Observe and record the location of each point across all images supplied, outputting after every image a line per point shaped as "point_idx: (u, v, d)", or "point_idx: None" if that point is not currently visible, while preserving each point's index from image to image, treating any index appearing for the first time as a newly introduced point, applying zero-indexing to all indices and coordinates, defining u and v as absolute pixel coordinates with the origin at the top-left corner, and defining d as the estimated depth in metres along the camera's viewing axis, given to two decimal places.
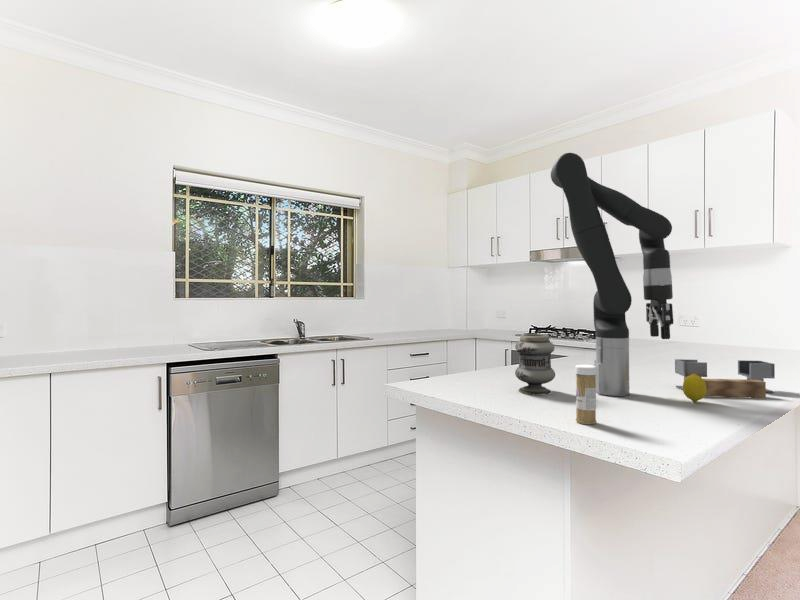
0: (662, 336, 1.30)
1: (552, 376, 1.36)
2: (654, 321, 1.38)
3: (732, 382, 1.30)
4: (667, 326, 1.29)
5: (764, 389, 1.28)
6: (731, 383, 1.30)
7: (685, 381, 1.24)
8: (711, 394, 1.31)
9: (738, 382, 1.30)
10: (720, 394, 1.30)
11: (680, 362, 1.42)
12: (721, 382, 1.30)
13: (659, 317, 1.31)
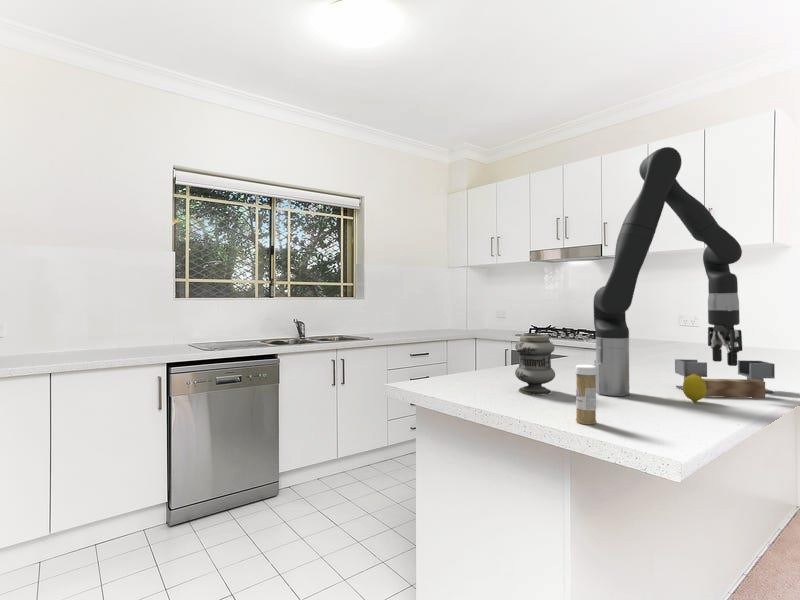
0: (729, 362, 1.28)
1: (552, 376, 1.36)
2: (717, 346, 1.36)
3: (732, 382, 1.30)
4: (735, 353, 1.26)
5: (764, 389, 1.29)
6: (732, 383, 1.30)
7: (685, 381, 1.24)
8: (712, 394, 1.31)
9: (738, 382, 1.30)
10: (720, 394, 1.30)
11: (680, 362, 1.42)
12: (721, 382, 1.30)
13: (726, 343, 1.28)
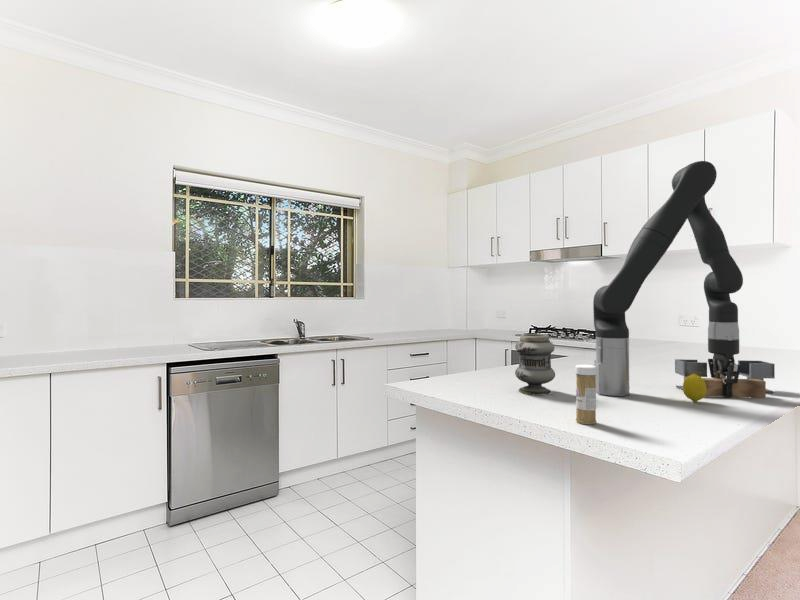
0: (724, 394, 1.30)
1: (552, 376, 1.36)
2: (720, 377, 1.34)
3: None
4: (730, 384, 1.29)
5: (764, 388, 1.28)
6: None
7: (685, 381, 1.24)
8: (712, 394, 1.31)
9: (738, 381, 1.30)
10: (720, 393, 1.30)
11: (680, 362, 1.42)
12: (721, 381, 1.30)
13: (723, 375, 1.30)
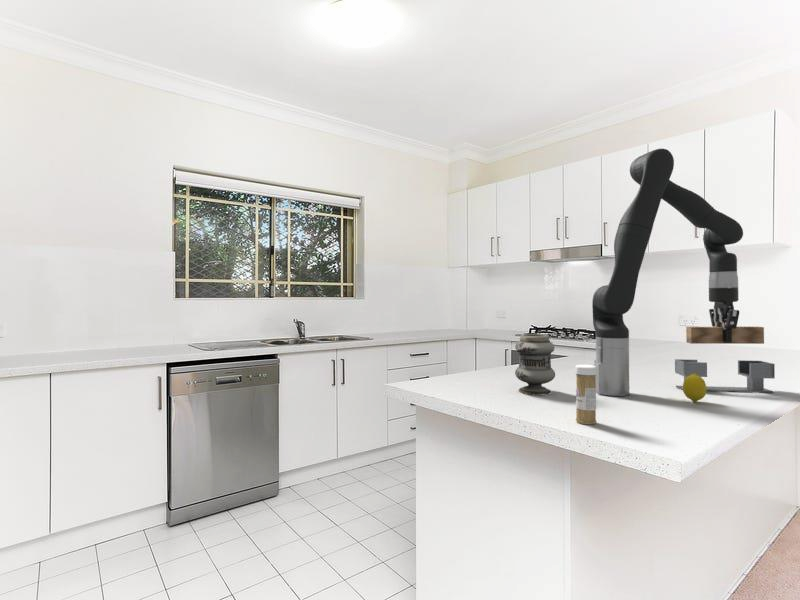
0: (724, 339, 1.37)
1: (552, 376, 1.36)
2: (720, 325, 1.42)
3: None
4: (729, 330, 1.36)
5: (762, 334, 1.36)
6: None
7: (685, 381, 1.24)
8: (712, 340, 1.38)
9: (738, 328, 1.37)
10: (721, 340, 1.38)
11: (680, 362, 1.42)
12: (721, 328, 1.38)
13: (723, 321, 1.37)
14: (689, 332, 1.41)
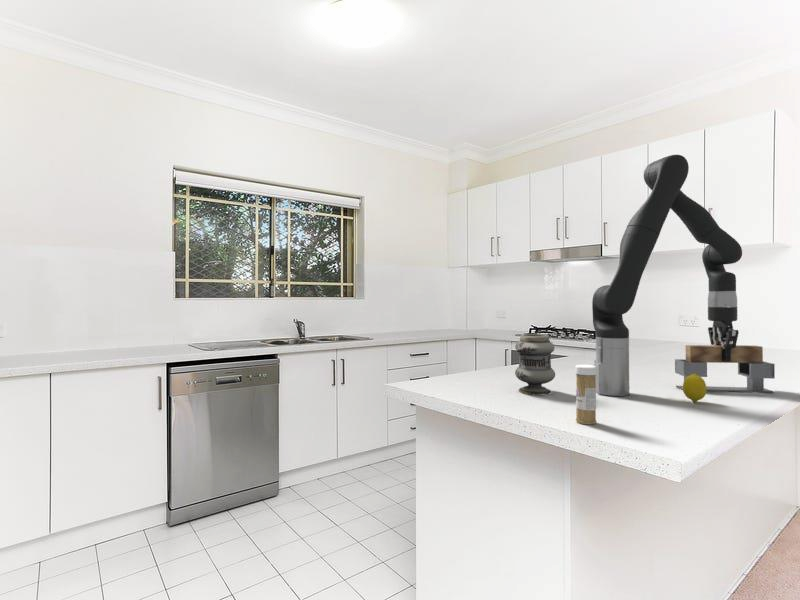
0: (723, 358, 1.38)
1: (552, 376, 1.36)
2: (719, 344, 1.42)
3: None
4: (729, 349, 1.37)
5: (761, 353, 1.36)
6: None
7: (685, 381, 1.24)
8: (712, 359, 1.39)
9: (737, 347, 1.38)
10: (720, 359, 1.38)
11: (680, 362, 1.42)
12: (721, 347, 1.38)
13: (722, 340, 1.38)
14: (688, 351, 1.41)
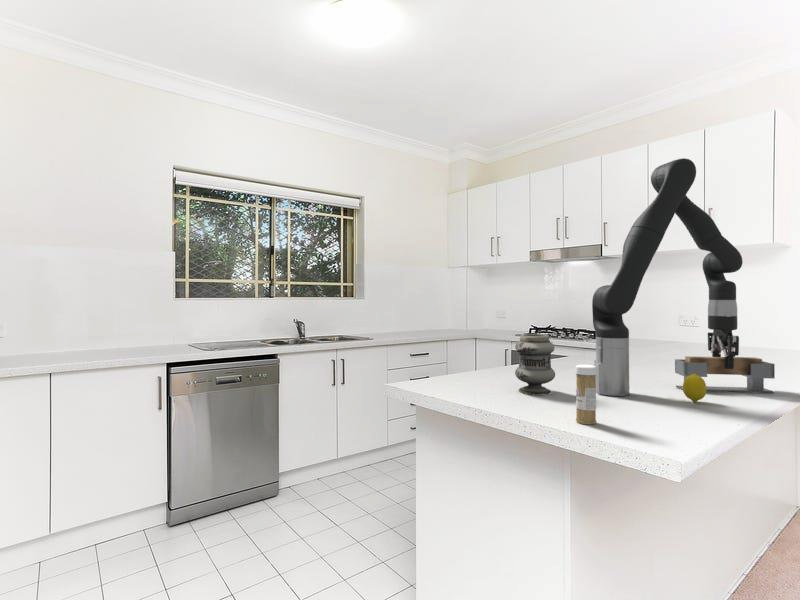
0: (726, 366, 1.36)
1: (552, 376, 1.36)
2: (716, 350, 1.44)
3: None
4: (731, 357, 1.35)
5: None
6: None
7: (685, 381, 1.24)
8: (711, 371, 1.39)
9: (736, 359, 1.38)
10: (719, 371, 1.39)
11: (680, 362, 1.42)
12: (720, 359, 1.39)
13: (724, 348, 1.37)
14: None
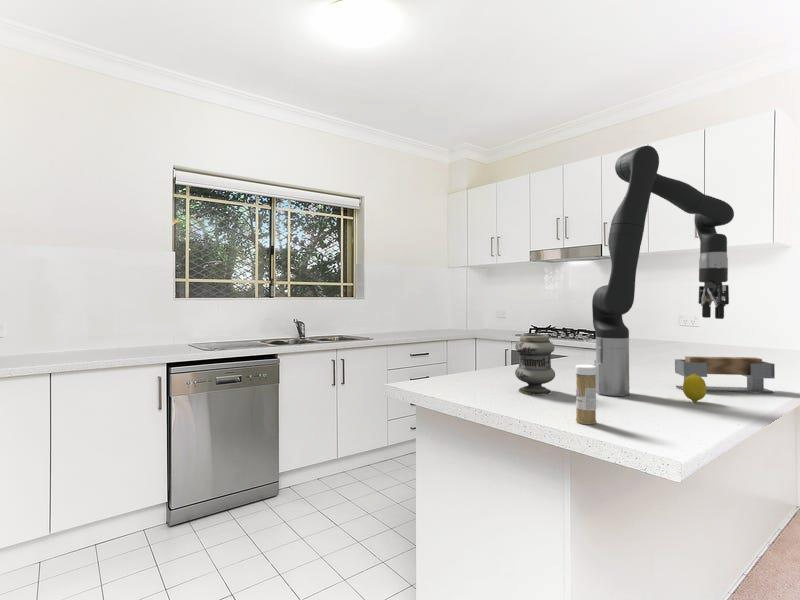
0: (716, 316, 1.38)
1: (552, 376, 1.36)
2: (706, 303, 1.46)
3: (730, 359, 1.38)
4: (722, 306, 1.36)
5: None
6: (730, 360, 1.38)
7: (685, 381, 1.24)
8: (711, 371, 1.39)
9: (736, 359, 1.38)
10: (719, 371, 1.39)
11: (680, 362, 1.42)
12: (720, 359, 1.39)
13: (714, 298, 1.38)
14: None
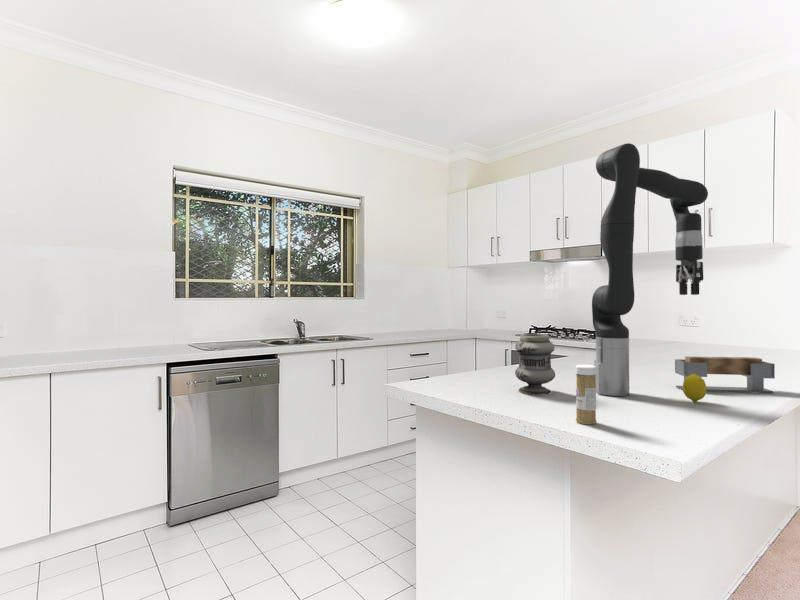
0: (692, 292, 1.43)
1: (552, 376, 1.36)
2: (683, 281, 1.51)
3: (730, 359, 1.38)
4: (697, 282, 1.42)
5: None
6: (730, 360, 1.38)
7: (685, 381, 1.24)
8: (711, 371, 1.39)
9: (736, 359, 1.38)
10: (719, 371, 1.39)
11: (680, 362, 1.42)
12: (720, 359, 1.39)
13: (690, 275, 1.43)
14: None
